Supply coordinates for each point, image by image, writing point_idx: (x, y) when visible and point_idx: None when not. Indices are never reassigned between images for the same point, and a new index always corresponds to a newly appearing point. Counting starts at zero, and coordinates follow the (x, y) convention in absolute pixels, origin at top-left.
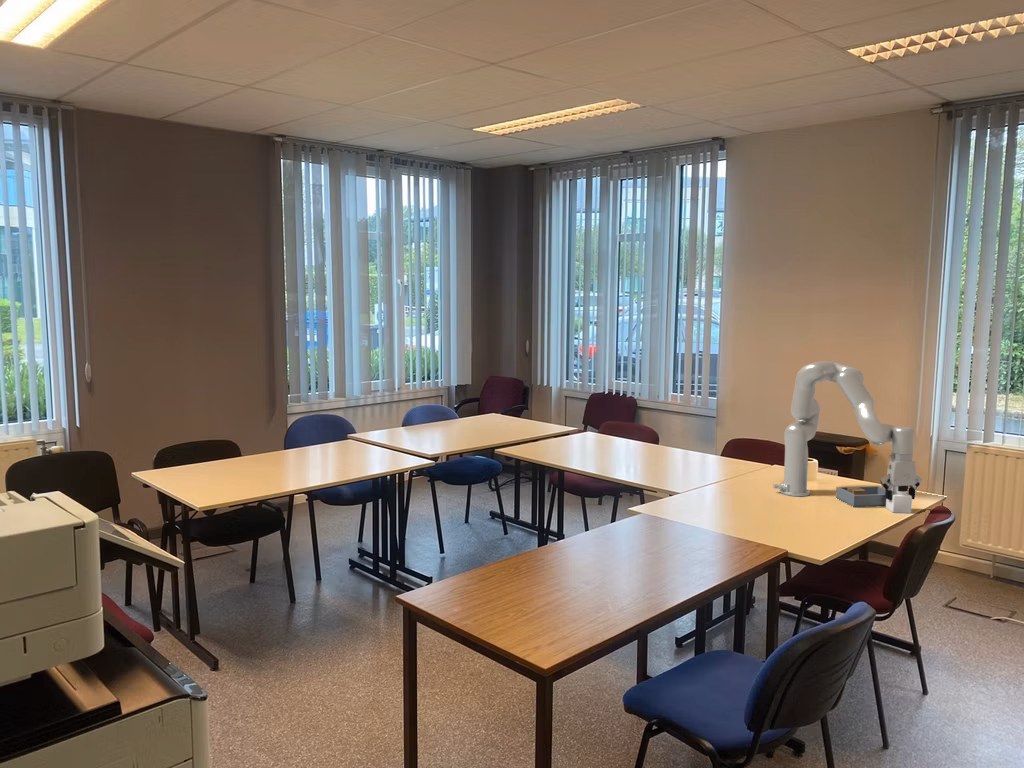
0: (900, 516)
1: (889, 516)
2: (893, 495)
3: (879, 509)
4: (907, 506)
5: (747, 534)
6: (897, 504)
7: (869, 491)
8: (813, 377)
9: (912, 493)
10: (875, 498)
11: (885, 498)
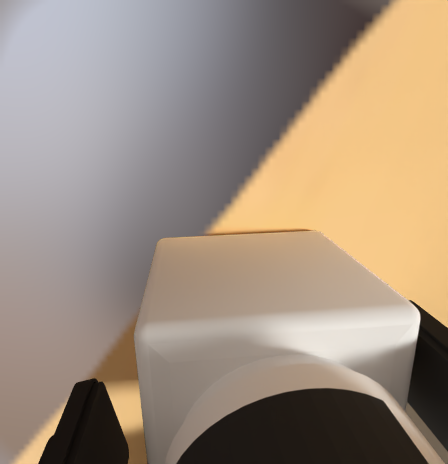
0: (302, 115)
1: (407, 102)
2: (418, 328)
3: None
4: (196, 258)
5: None
6: (312, 259)
7: None
8: None
9: (84, 453)
10: (426, 438)
11: None
